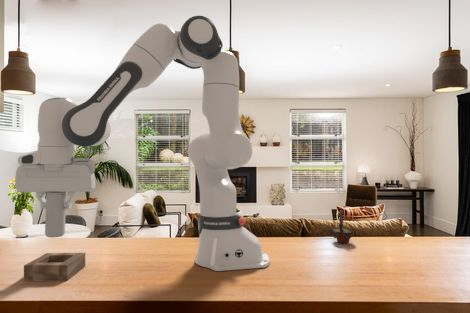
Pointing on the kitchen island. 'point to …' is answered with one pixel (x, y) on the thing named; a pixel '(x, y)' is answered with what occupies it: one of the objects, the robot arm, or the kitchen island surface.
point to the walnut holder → (54, 267)
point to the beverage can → (55, 214)
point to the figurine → (341, 231)
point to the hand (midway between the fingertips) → (56, 208)
